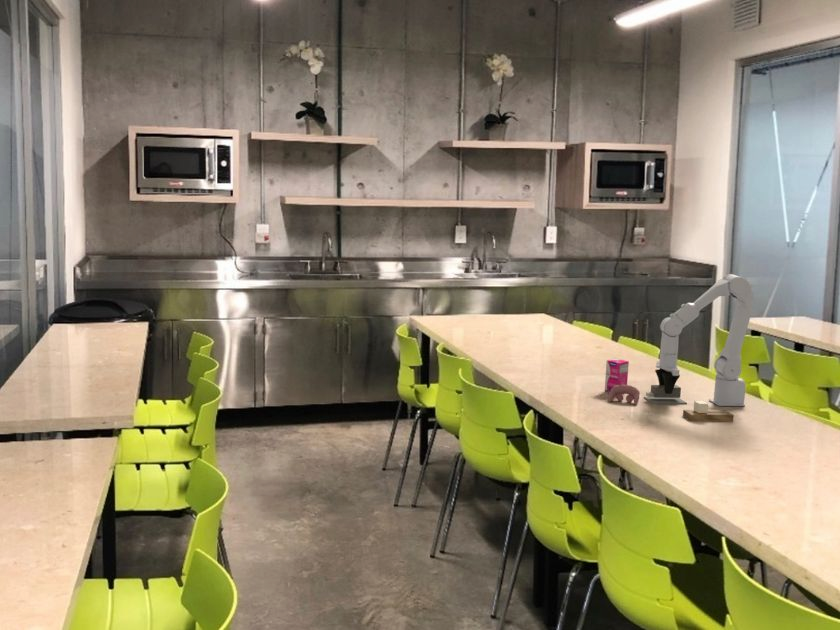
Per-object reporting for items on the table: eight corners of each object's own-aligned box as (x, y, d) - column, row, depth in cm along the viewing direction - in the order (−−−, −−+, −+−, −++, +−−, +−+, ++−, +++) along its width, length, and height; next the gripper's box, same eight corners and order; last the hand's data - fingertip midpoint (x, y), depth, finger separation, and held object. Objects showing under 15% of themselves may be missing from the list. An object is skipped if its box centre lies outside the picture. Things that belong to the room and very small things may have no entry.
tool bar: (675, 395, 292) (676, 385, 291) (680, 397, 288) (681, 387, 287) (644, 394, 290) (645, 384, 290) (649, 397, 286) (649, 387, 286)
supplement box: (603, 391, 301) (606, 359, 299) (613, 389, 305) (615, 358, 303) (617, 394, 297) (619, 362, 295) (627, 392, 300) (629, 360, 299)
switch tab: (702, 410, 270) (703, 401, 269) (707, 413, 266) (708, 403, 266) (693, 410, 269) (694, 400, 269) (698, 413, 266) (699, 403, 265)
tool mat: (676, 398, 294) (677, 396, 294) (686, 404, 286) (686, 402, 286) (643, 398, 293) (644, 396, 293) (652, 403, 285) (652, 402, 285)
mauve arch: (638, 408, 285) (641, 388, 287) (637, 404, 281) (640, 384, 283) (609, 404, 289) (612, 384, 291) (607, 400, 285) (610, 381, 287)
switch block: (724, 415, 272) (724, 409, 272) (733, 420, 266) (733, 414, 266) (682, 415, 271) (683, 409, 270) (690, 420, 265) (691, 414, 264)
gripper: (649, 348, 294) (646, 386, 296) (666, 357, 279) (663, 397, 281) (668, 349, 294) (665, 387, 296) (686, 357, 280) (683, 397, 282)
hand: (665, 391), depth 289 cm, fingers closed on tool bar, 4 cm apart
